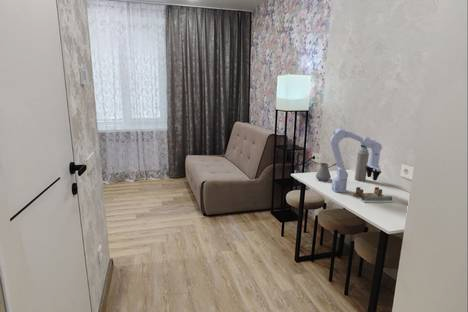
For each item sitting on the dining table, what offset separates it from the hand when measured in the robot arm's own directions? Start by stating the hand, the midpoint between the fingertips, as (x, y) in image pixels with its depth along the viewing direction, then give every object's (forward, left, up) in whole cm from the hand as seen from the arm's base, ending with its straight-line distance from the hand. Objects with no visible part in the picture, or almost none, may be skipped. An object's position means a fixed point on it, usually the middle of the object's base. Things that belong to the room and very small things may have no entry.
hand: (371, 178), depth 203 cm
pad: (-3, -14, -10) cm, 18 cm away
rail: (-3, -14, -10) cm, 17 cm away
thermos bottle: (+7, +29, -11) cm, 32 cm away
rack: (-4, -6, -10) cm, 12 cm away
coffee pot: (-18, +30, -11) cm, 37 cm away
